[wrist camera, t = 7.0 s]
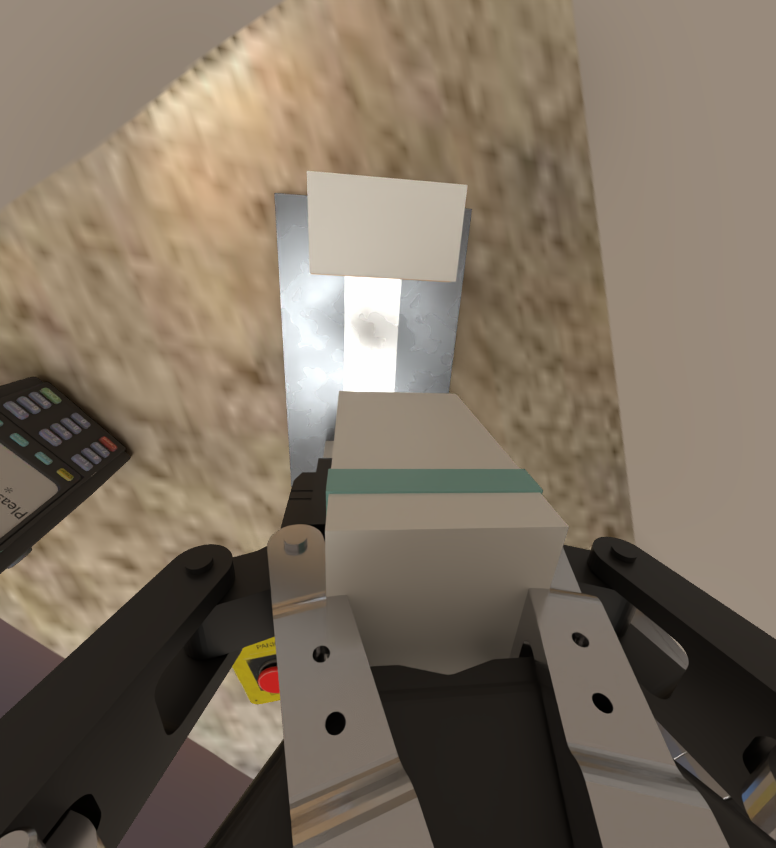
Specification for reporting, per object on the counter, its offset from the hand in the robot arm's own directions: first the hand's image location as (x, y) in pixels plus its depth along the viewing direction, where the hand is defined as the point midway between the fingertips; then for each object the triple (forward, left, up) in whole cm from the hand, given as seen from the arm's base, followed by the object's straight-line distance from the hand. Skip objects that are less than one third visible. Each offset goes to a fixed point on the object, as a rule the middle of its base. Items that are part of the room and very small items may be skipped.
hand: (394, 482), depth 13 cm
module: (0, 0, -1) cm, 1 cm away
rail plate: (0, 0, -18) cm, 18 cm away
